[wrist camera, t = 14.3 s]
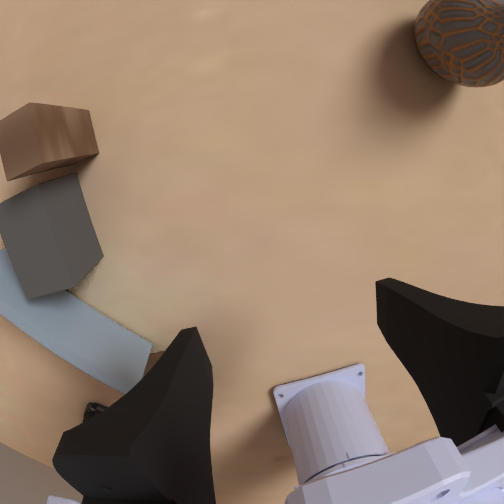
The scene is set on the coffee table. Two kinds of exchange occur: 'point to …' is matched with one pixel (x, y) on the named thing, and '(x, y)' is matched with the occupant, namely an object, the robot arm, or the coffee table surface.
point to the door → (75, 332)
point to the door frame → (48, 146)
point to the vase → (463, 40)
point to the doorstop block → (49, 236)
